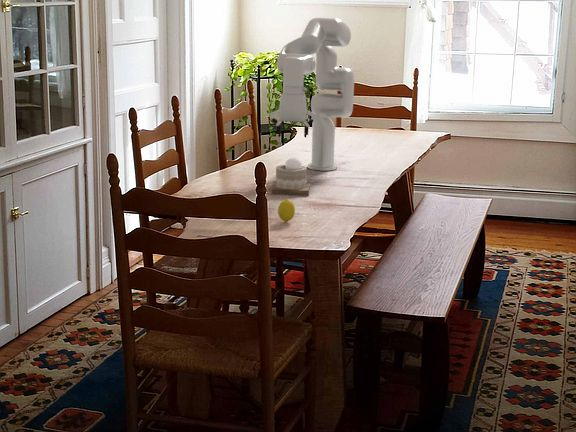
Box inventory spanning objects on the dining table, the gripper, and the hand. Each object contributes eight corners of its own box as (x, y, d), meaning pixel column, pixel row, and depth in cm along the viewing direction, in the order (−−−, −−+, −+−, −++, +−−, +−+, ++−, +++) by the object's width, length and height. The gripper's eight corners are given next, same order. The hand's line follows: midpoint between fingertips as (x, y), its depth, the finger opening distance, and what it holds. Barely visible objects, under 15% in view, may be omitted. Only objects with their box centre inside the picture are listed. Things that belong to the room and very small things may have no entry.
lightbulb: (279, 184, 347) (292, 157, 344) (275, 178, 352) (287, 152, 350) (294, 189, 349) (306, 163, 347) (290, 184, 355) (302, 158, 352)
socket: (273, 186, 358) (274, 163, 356) (309, 187, 358) (310, 164, 355) (270, 194, 345) (271, 171, 343) (308, 196, 344) (309, 172, 342)
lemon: (294, 220, 311) (294, 197, 309) (294, 224, 305) (295, 201, 303) (277, 220, 310) (278, 197, 308) (277, 224, 305) (278, 201, 303)
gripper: (317, 89, 345) (315, 135, 350) (270, 88, 346) (270, 133, 351) (316, 92, 338) (315, 139, 342) (269, 91, 339) (268, 137, 343)
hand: (292, 136), depth 346 cm, fingers open, 9 cm apart
